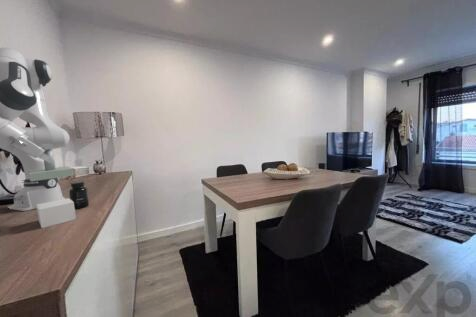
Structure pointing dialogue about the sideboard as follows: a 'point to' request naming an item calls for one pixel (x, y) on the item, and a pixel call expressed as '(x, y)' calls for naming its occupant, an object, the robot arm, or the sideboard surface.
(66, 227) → the sideboard surface
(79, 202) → the supplement bottle
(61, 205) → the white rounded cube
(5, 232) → the sideboard surface
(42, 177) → the t-shaped pedestal stand
